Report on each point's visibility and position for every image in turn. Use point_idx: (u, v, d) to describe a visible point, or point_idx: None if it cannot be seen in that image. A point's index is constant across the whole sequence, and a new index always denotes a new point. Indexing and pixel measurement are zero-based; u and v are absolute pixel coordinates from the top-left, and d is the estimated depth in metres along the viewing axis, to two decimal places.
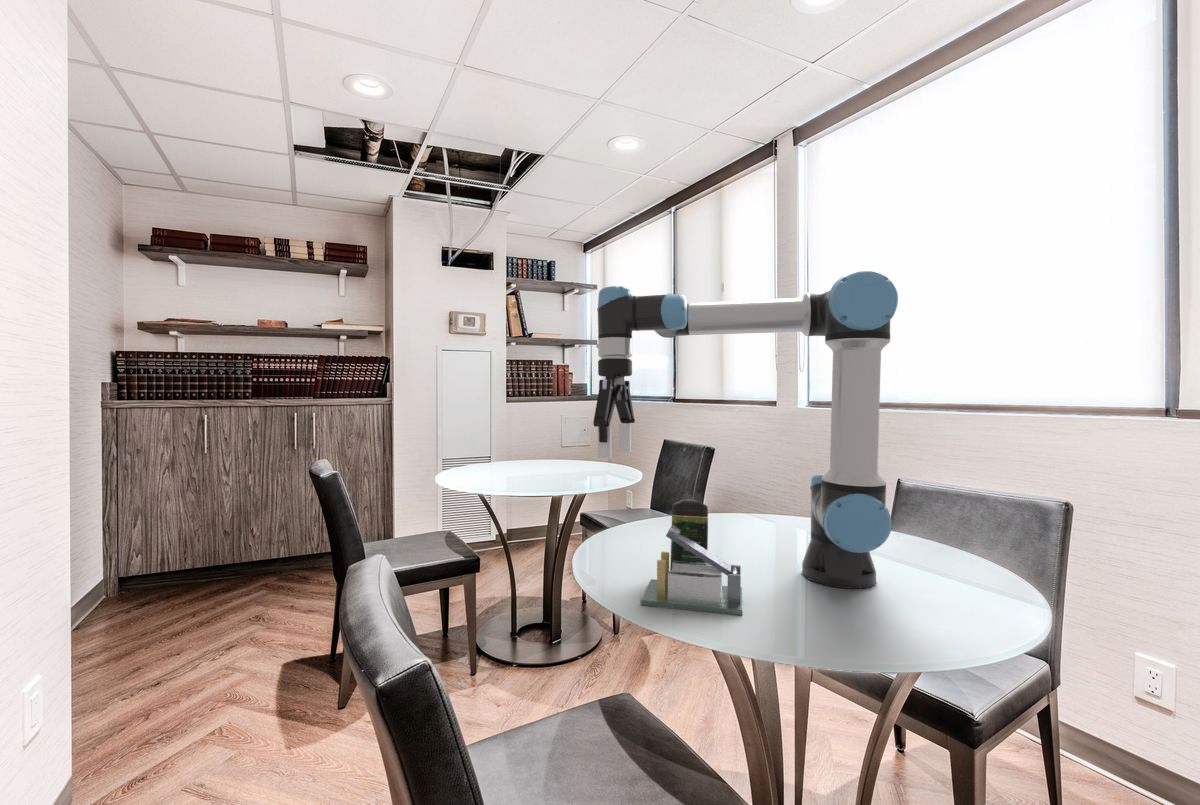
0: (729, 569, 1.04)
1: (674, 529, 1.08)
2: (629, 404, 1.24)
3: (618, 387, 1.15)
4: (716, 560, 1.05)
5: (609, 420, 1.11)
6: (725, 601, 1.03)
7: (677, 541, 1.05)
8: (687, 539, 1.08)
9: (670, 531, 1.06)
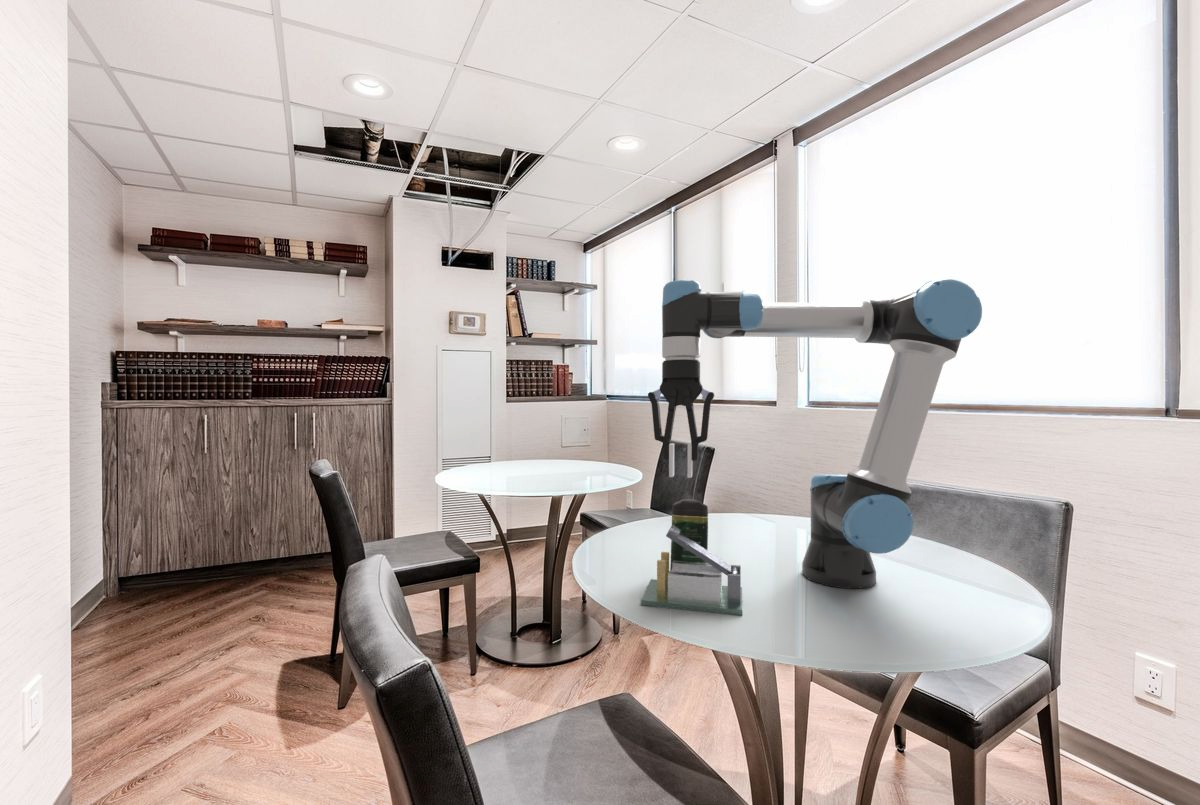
0: (729, 569, 1.04)
1: (674, 529, 1.08)
2: (702, 419, 1.05)
3: None
4: (716, 560, 1.05)
5: (666, 436, 1.06)
6: (725, 601, 1.03)
7: (677, 541, 1.05)
8: (687, 539, 1.08)
9: (670, 531, 1.06)
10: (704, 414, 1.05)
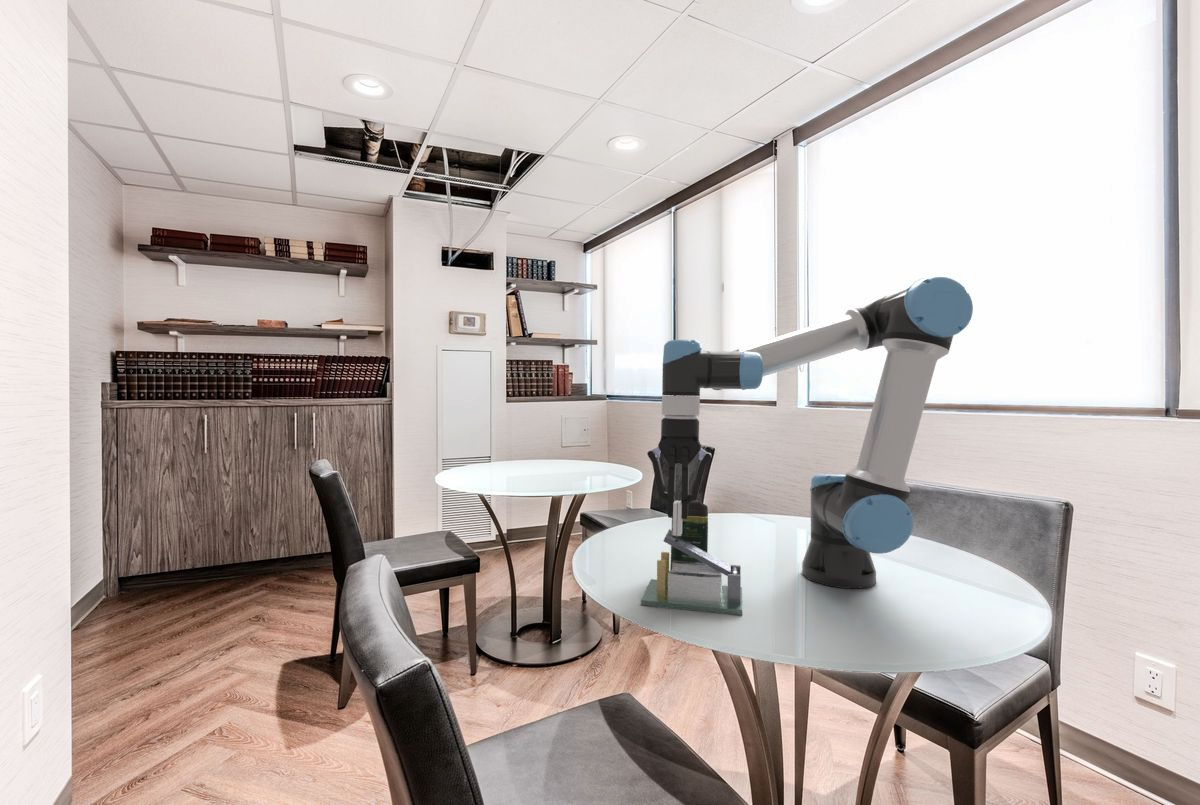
0: (729, 569, 1.04)
1: (671, 533, 1.08)
2: None
3: (669, 451, 1.06)
4: (715, 561, 1.05)
5: (670, 494, 1.06)
6: (725, 601, 1.03)
7: (675, 545, 1.06)
8: (685, 542, 1.08)
9: (667, 536, 1.06)
10: (698, 474, 1.05)
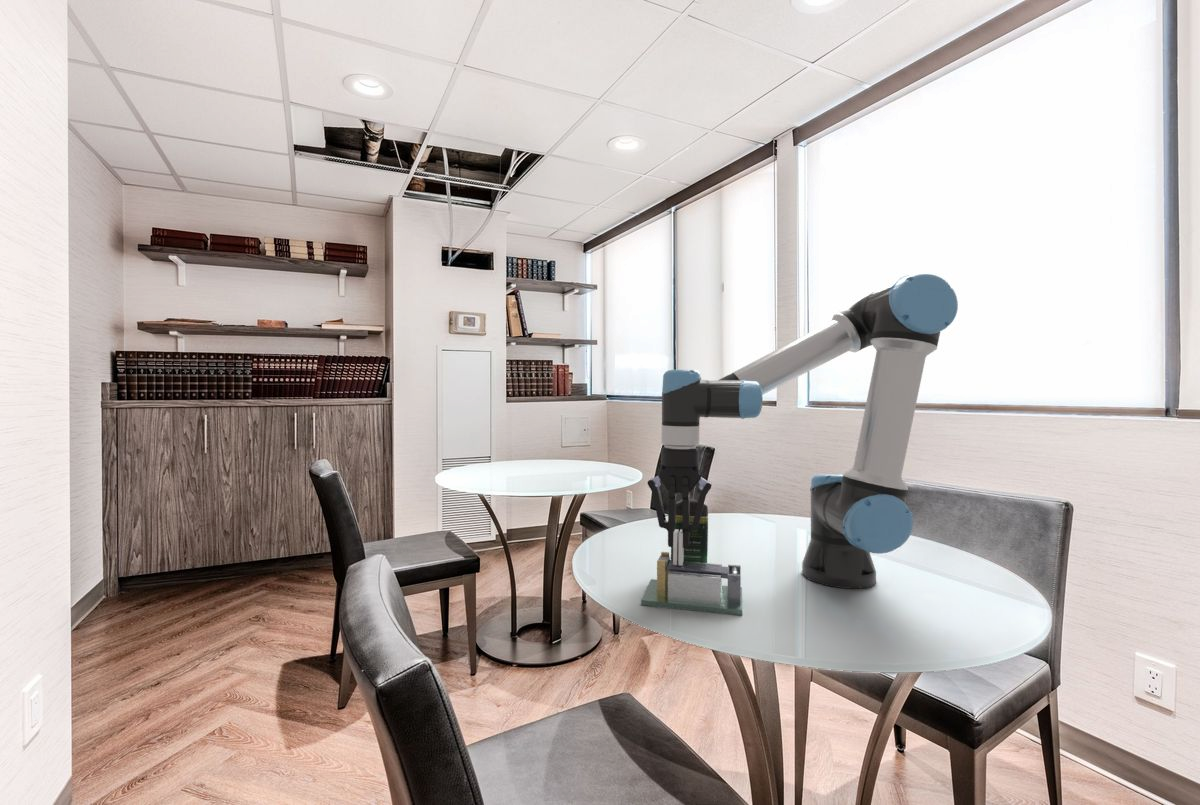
0: (727, 572, 1.04)
1: (662, 559, 1.08)
2: (696, 508, 1.05)
3: (669, 481, 1.06)
4: (711, 569, 1.05)
5: (670, 524, 1.07)
6: (725, 601, 1.03)
7: (669, 569, 1.06)
8: None
9: None
10: (699, 504, 1.05)
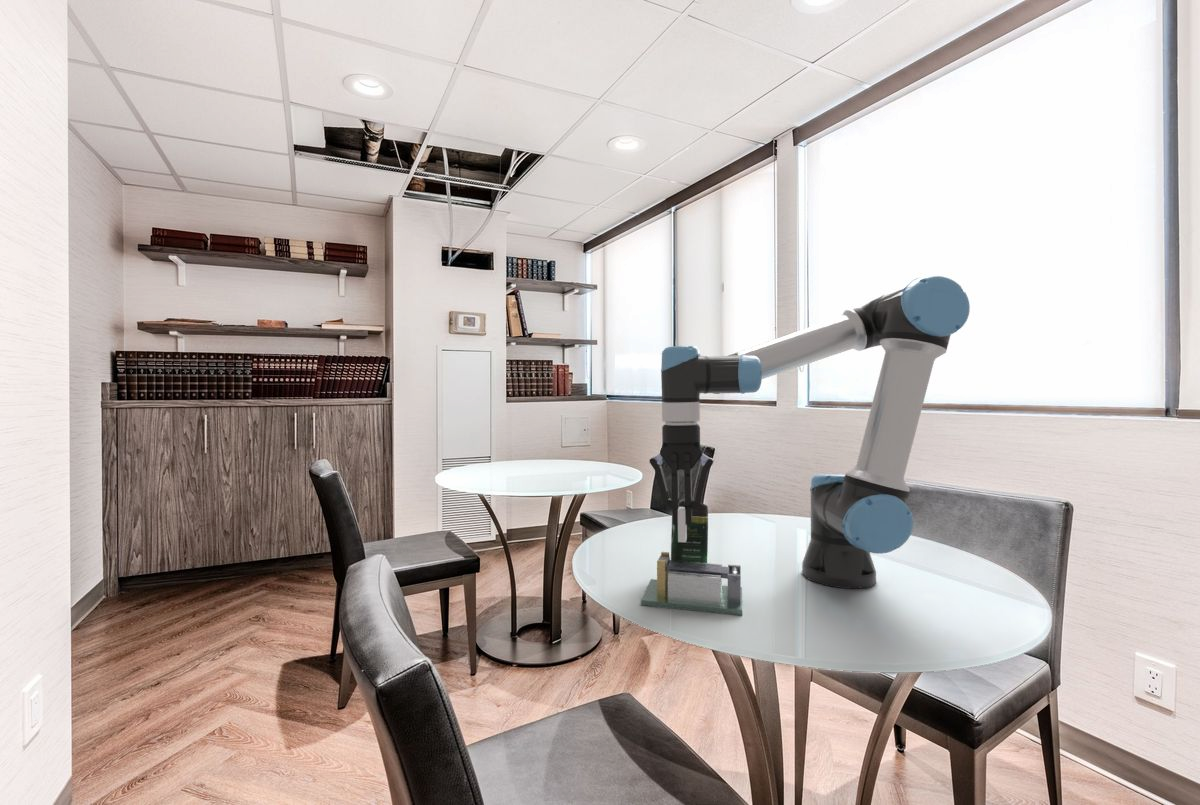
0: (727, 572, 1.04)
1: (662, 559, 1.08)
2: (698, 484, 1.05)
3: (671, 458, 1.06)
4: (711, 569, 1.05)
5: (674, 501, 1.06)
6: (725, 601, 1.03)
7: (669, 569, 1.06)
8: (679, 562, 1.08)
9: None
10: (701, 480, 1.05)
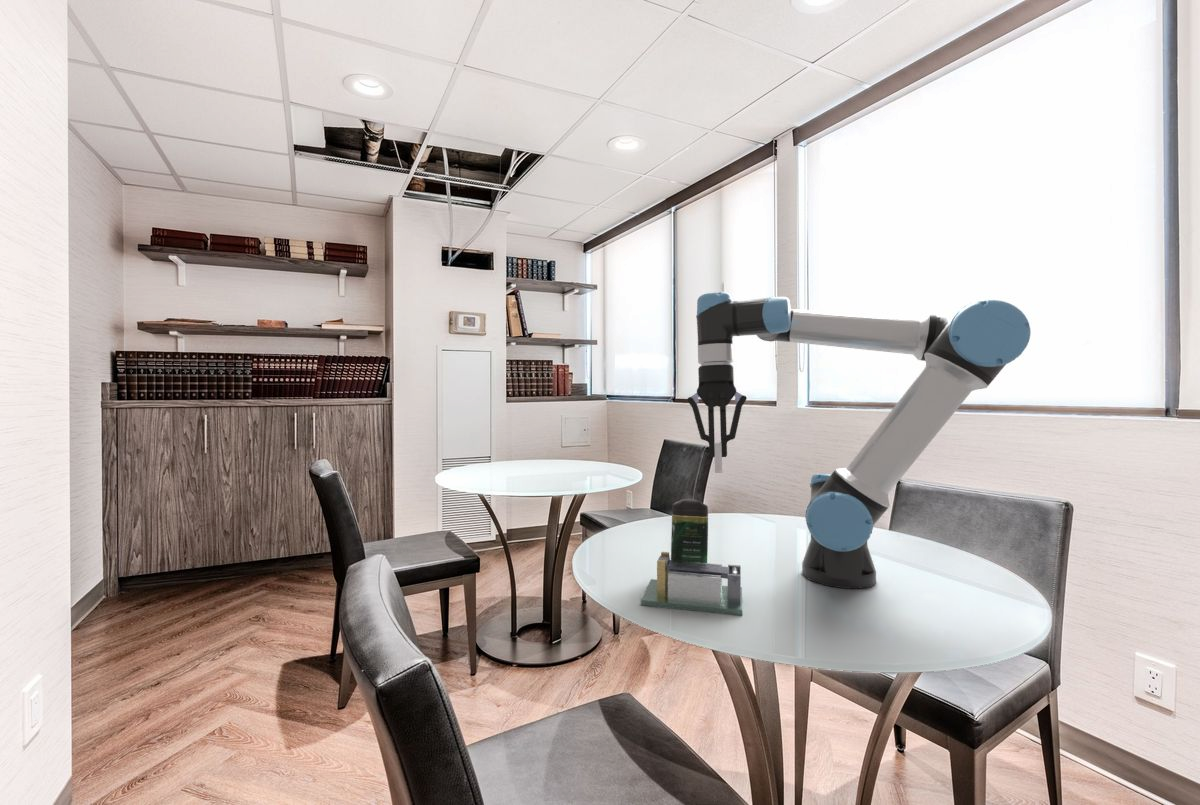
0: (727, 572, 1.04)
1: (662, 559, 1.08)
2: (733, 419, 1.15)
3: (707, 396, 1.16)
4: (711, 569, 1.05)
5: (711, 435, 1.16)
6: (725, 601, 1.03)
7: (669, 569, 1.06)
8: (679, 562, 1.08)
9: None
10: (735, 415, 1.15)
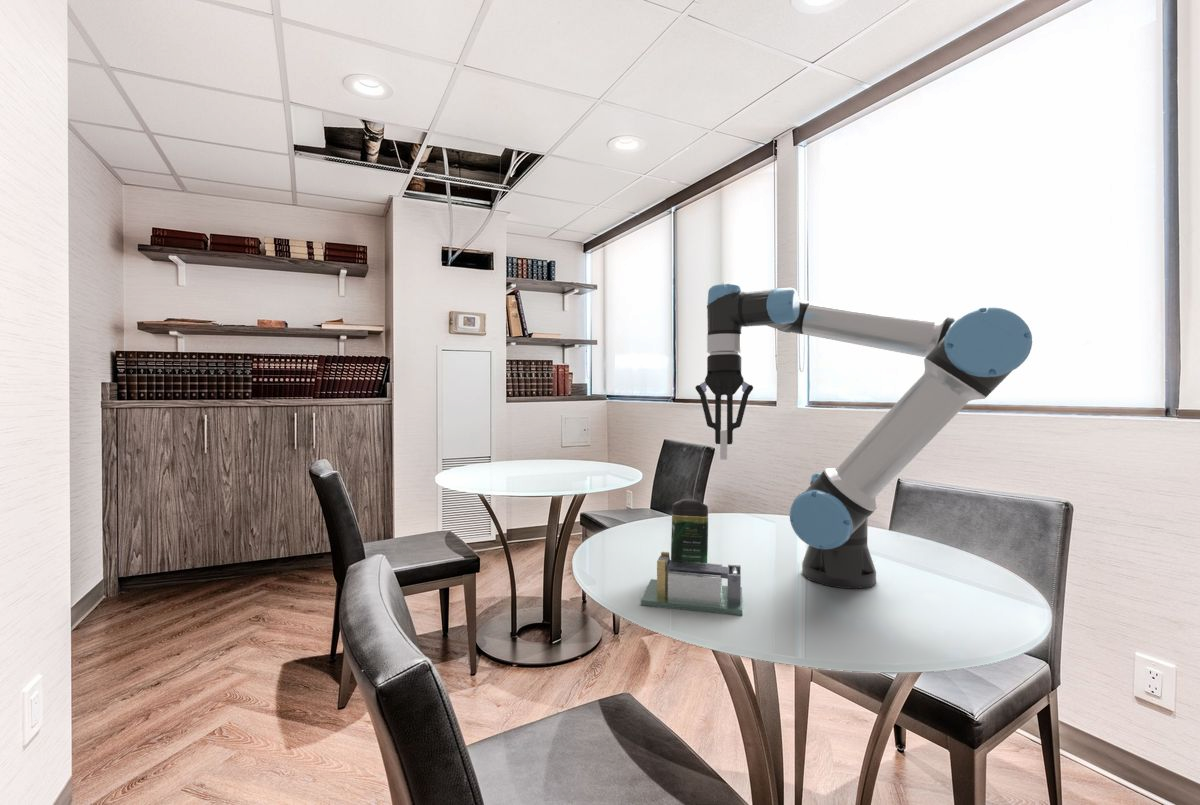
0: (727, 572, 1.04)
1: (662, 559, 1.08)
2: (739, 408, 1.19)
3: (715, 384, 1.19)
4: (711, 569, 1.05)
5: (717, 423, 1.20)
6: (725, 601, 1.03)
7: (669, 569, 1.06)
8: (679, 562, 1.08)
9: None
10: (742, 403, 1.18)
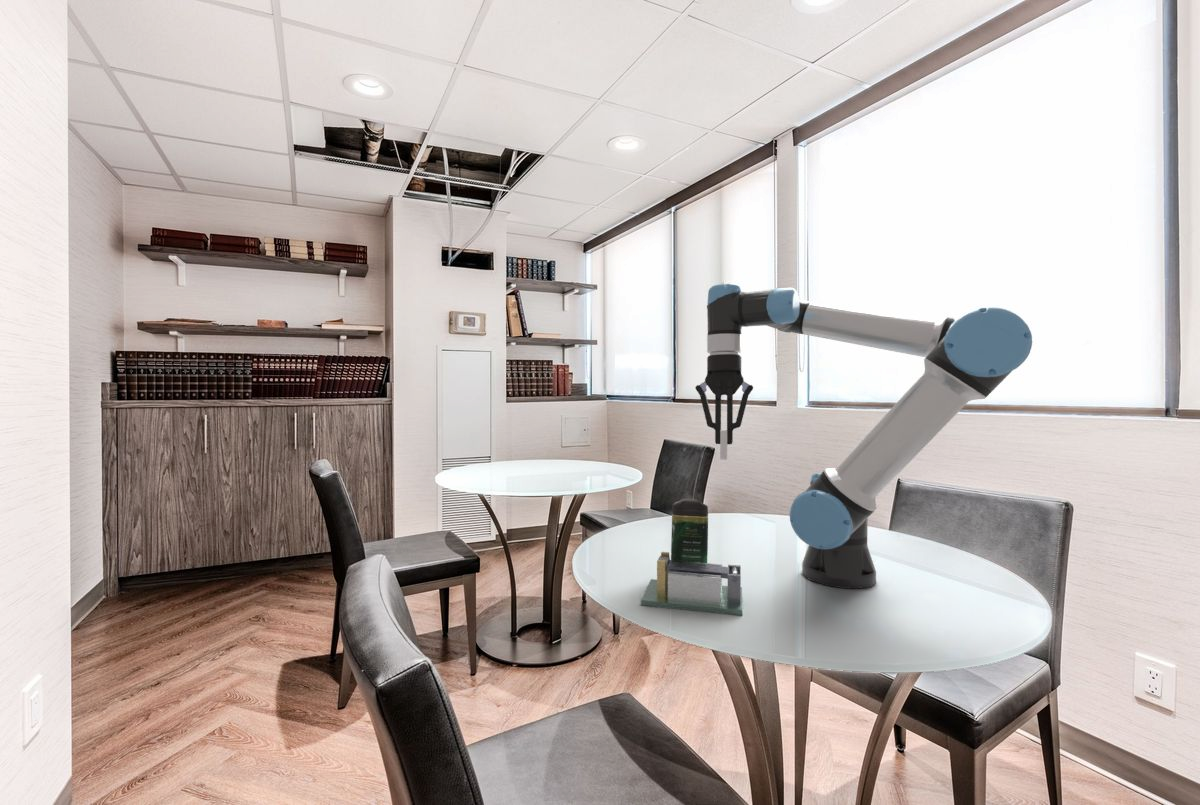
0: (727, 572, 1.04)
1: (662, 559, 1.08)
2: (739, 408, 1.19)
3: (715, 384, 1.19)
4: (711, 569, 1.05)
5: (717, 423, 1.20)
6: (725, 601, 1.03)
7: (669, 569, 1.06)
8: (679, 562, 1.08)
9: None
10: (742, 403, 1.18)
